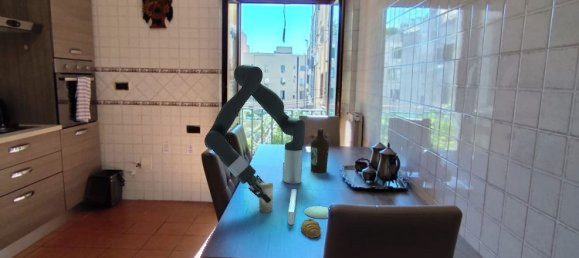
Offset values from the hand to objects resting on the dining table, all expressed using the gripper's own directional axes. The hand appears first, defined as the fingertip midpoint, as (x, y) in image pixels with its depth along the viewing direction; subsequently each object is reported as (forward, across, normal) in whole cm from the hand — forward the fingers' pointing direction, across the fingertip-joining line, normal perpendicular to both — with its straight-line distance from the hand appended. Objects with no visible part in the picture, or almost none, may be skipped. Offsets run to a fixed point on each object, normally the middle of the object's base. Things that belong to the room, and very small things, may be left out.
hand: (270, 199), depth 148 cm
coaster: (+18, 0, -11) cm, 21 cm away
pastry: (+16, -18, -8) cm, 25 cm away
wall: (+10, 0, -3) cm, 10 cm away
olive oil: (+19, +63, -12) cm, 67 cm away
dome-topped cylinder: (+2, 0, +5) cm, 5 cm away
